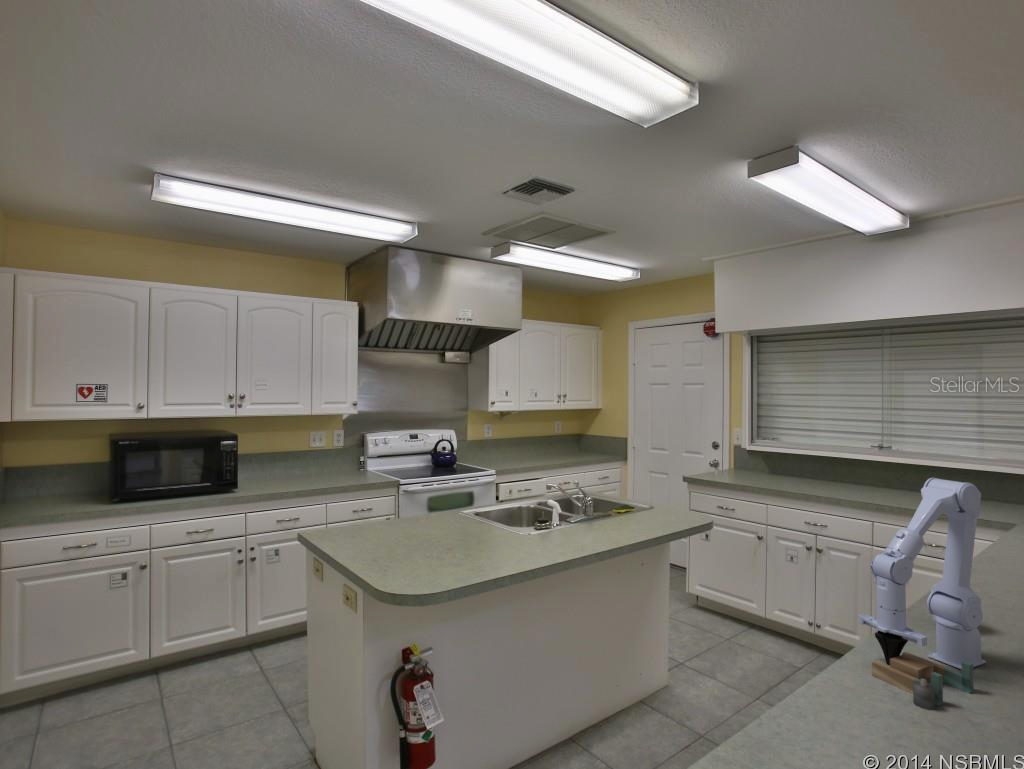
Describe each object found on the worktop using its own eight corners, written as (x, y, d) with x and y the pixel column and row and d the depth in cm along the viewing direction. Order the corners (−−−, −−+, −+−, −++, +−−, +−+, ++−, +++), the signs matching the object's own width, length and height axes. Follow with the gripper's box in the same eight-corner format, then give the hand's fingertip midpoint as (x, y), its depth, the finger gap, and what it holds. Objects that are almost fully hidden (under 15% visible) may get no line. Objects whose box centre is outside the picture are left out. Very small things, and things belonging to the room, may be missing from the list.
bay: (906, 664, 136) (905, 639, 137) (975, 692, 123) (974, 664, 124) (859, 679, 129) (859, 652, 129) (928, 711, 116) (927, 681, 116)
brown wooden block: (905, 670, 133) (905, 653, 133) (933, 682, 128) (933, 664, 128) (890, 676, 130) (889, 658, 131) (918, 688, 125) (917, 670, 125)
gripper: (850, 599, 138) (851, 655, 138) (913, 620, 125) (914, 682, 125) (869, 594, 141) (869, 649, 141) (932, 615, 128) (933, 675, 128)
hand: (891, 664), depth 133 cm, fingers closed
